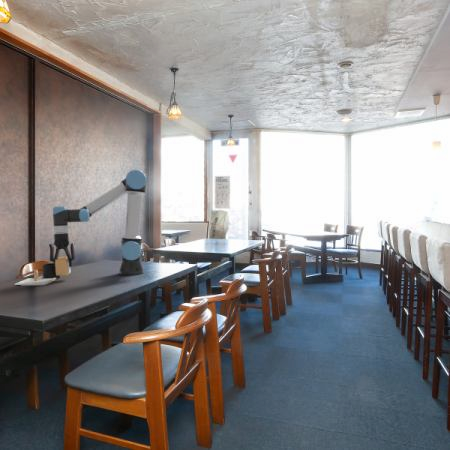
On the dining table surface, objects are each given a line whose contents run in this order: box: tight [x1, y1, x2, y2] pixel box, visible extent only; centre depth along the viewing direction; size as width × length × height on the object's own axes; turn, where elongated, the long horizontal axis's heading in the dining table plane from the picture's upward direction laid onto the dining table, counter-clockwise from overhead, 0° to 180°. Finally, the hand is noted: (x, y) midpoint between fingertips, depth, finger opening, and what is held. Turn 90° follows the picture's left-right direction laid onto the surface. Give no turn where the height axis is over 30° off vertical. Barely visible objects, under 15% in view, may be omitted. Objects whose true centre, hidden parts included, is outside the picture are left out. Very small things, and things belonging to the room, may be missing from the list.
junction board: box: [14, 269, 57, 286], centre depth 211 cm, size 16×20×7 cm
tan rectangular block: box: [55, 256, 72, 276], centre depth 215 cm, size 6×6×10 cm
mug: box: [41, 262, 61, 280], centre depth 221 cm, size 9×12×9 cm
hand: (63, 272), depth 215 cm, fingers closed on tan rectangular block, 6 cm apart
